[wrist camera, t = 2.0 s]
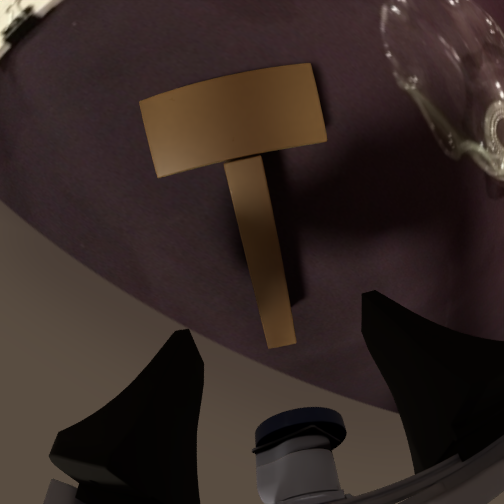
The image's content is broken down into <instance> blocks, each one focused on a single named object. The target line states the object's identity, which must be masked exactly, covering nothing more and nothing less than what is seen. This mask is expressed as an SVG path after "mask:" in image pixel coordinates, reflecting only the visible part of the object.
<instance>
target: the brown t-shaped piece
mask: <svg viewBox="0 0 504 504" xmlns="http://www.w3.org/2000/svg"><path fill="white" fill-rule="evenodd" d="M139 104H140V108H141V113H142V117H143V122H144V126H145V130H146V135H147V139H148V143H149V147H150V151H151V155H152V159H153V163H154V166H155V170H156V174H157V177H158V178H161V177H165V176H170V175H173V174H177V173H180V172H184V171H188V170H191V169H195V168H199V167H203V166H207V165H211V164H215V163H219V162H223V161H226V162H225V163H224V168H225V173H226V177H227V181H228V185H229V190H230V194H231V198H232V202H233V206H234V210H235V215H236V219H237V223H238V227H239V231H240V235H241V240H242V244H243V248H244V252H245V256H246V260H247V264H248V268H249V272H250V277H251V281H252V285H253V289H254V293H255V297H256V301H257V305H258V309H259V313H260V317H261V321H262V325H263V329H264V333H265V337H266V341H267V345H268V348H269V349H270V348H275V347H280V346H285V345H290V344H295V343H296V336H295V330H294V324H293V318H292V312H291V306H290V300H289V295H288V289H287V283H286V278H285V272H284V267H283V261H282V256H281V251H280V245H279V240H278V235H277V230H276V225H275V219H274V214H273V209H272V204H271V199H270V194H269V190H268V185H267V180H266V175H265V170H264V165H263V161H262V157H261V155H260V153H265V152H270V151H275V150H281V149H286V148H292V147H298V146H304V145H310V144H317V143H321V142H327V135H326V129H325V124H324V119H323V114H322V109H321V105H320V100H319V95H318V91H317V87H316V82H315V78H314V74H313V70H312V66H311V64H310V63H303V64H293V65H285V66H277V67H270V68H264V69H258V70H252V71H246V72H241V73H236V74H231V75H227V76H222V77H218V78H214V79H210V80H206V81H202V82H198V83H194V84H191V85H187V86H184V87H180V88H177V89H174V90H171V91H167V92H164V93H161V94H158V95H155V96H153V97H150V98H147V99H144V100H141V101H140V102H139ZM255 154H256V155H255ZM250 155H251V156H250ZM245 156H246V157H245ZM241 157H242V158H241ZM236 158H237V159H236ZM232 159H233V160H232Z"/></svg>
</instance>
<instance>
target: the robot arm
mask: <svg viewBox="0 0 504 504" xmlns="http://www.w3.org/2000/svg"><path fill="white" fill-rule="evenodd" d="M361 332H362V334H363V337H364V339H365V342H366V345H367V347H368V350H369V352H370V354H371V355H372V357H373V359H374V361H375V363H376V365H377V366H378V368H379V370H380V372H381V374H382V376H383V377H384V379H385V381H386V383H387V385H388V387H389V389H390V391H391V393H392V395H393V397H394V400H395V403H396V405H397V408H398V411H399V414H400V417H401V420H402V423H403V426H404V429H405V432H406V436H407V440H408V444H409V448H410V452H411V456H412V461H413V466H414V472H415V475H413V476H411V477H409V478H406V479H404V480H401V481H399V482H396V483H394V484H391V485H388V486H385V487H383V488H380V489H377V490H374V491H371V492H368V493H365V494H361V495H358V496H352V495H351V494H346V495H344V491H343V490H341V488H340V484H339V479H338V475H337V471H336V466H335V462H334V458H333V454H332V450H331V448H332V447H334V446H336V445H338V444H340V443H341V441H340V440H339V439H337V438H336V437H334V436H332V435H330V434H329V433H327V432H325V431H324V430H322V429H320V428H319V427H317V426H315V425H309V426H307V427H305V428H302V429H300V430H298V431H296V432H293V433H291V434H289V435H286V436H284V437H282V438H279V439H277V440H274V441H272V442H269V443H267V444H264V445H261V446H259V447H256V448H253V449H252V453H255V454H256V472H257V488H258V493H259V496H260V498H261V500H262V501H263V503H264V504H395V503H397V502H399V501H402V500H404V501H402V502H400V503H398V504H487V503H489V502H490V501H491V500H493V499H494V498H495V497H497V496H498V495H499V494H501V493H502V492H503V491H504V341H496V340H490V339H484V338H479V337H475V336H471V335H467V334H464V333H460V332H457V331H454V330H451V329H449V328H446V327H444V326H441V325H439V324H436V323H434V322H432V321H430V320H428V319H426V318H424V317H422V316H420V315H418V314H416V313H414V312H412V311H410V310H408V309H407V308H405V307H403V306H401V305H400V304H398V303H396V302H395V301H393V300H391V299H390V298H388V297H386V296H385V295H383V294H381V293H379V292H378V291H376V290H373V291H370V292H366V293H362V328H361ZM203 385H204V362H203V360H202V358H201V356H200V354H199V351H198V349H197V347H196V344H195V342H194V340H193V337H192V335H191V333H190V330H189V329H185V330H178V331H175V332H174V333H173V334H172V335H171V337H170V338H169V339H168V340H167V342H166V343H165V344H164V345H163V347H162V348H161V349H160V350H159V352H158V353H157V354H156V355H155V357H154V358H153V359H152V360H151V362H150V363H149V364H148V365H147V366H146V367H145V368H144V370H143V371H142V372H141V373H140V374H139V375H138V376H137V377H136V379H135V380H134V381H133V382H132V383H131V384H130V385H129V386H128V387H126V388H125V389H124V390H123V391H122V392H121V393H120V394H119V395H118V396H116V397H115V398H114V399H113V400H111V401H110V402H109V403H107V404H106V405H105V406H104V407H102V408H101V409H100V410H98V411H97V412H95V413H94V414H92V415H90V416H89V417H87V418H85V419H84V420H82V421H80V422H78V423H76V424H75V425H73V426H71V427H69V428H66V429H64V430H62V431H60V432H58V434H57V437H56V439H55V442H54V444H53V447H52V449H51V452H50V454H49V458H50V460H51V461H52V463H53V464H54V465H55V466H57V467H58V468H59V469H60V470H62V471H63V472H64V473H66V474H67V475H68V476H70V477H71V478H73V479H74V480H76V481H77V482H78V483H79V486H78V488H76V487H73V486H71V485H69V484H66V483H63V482H60V481H58V480H55V479H51V482H50V485H49V488H48V491H47V494H46V497H45V500H44V504H200V498H199V489H198V476H197V427H198V420H199V413H200V406H201V400H202V393H203ZM409 497H410V498H409ZM407 498H408V499H407ZM405 499H406V500H405Z"/></svg>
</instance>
